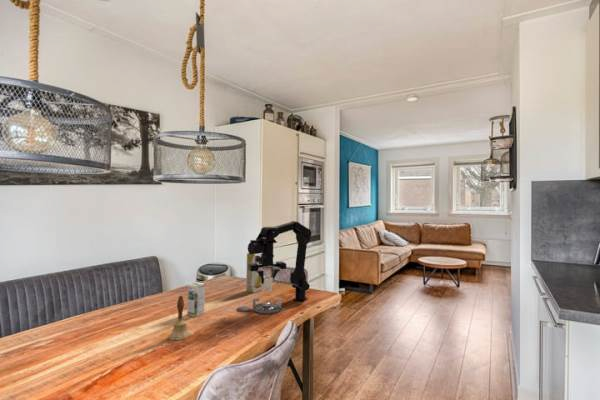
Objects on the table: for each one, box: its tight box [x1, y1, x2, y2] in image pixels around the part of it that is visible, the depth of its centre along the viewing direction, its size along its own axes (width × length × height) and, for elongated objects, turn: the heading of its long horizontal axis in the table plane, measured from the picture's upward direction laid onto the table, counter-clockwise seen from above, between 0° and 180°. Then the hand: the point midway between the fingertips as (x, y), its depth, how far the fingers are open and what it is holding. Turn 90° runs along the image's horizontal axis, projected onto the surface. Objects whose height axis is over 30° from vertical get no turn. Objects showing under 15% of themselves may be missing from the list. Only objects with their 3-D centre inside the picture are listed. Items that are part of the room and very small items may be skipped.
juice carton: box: [245, 252, 264, 293], centre depth 191 cm, size 9×8×24 cm
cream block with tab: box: [261, 275, 274, 292], centre depth 159 cm, size 10×4×6 cm, turn 27°
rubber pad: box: [236, 305, 252, 313], centre depth 158 cm, size 7×7×1 cm
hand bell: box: [168, 295, 192, 341], centre depth 126 cm, size 8×8×16 cm
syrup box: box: [186, 281, 206, 318], centre depth 151 cm, size 6×6×14 cm
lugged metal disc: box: [252, 297, 282, 315], centre depth 159 cm, size 14×14×5 cm
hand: (267, 283), depth 159 cm, fingers closed on cream block with tab, 4 cm apart
